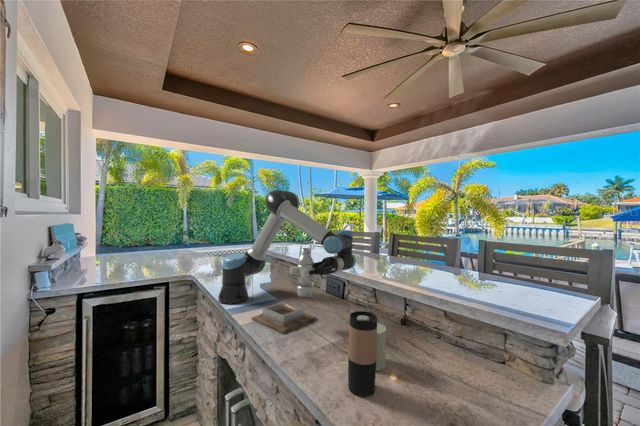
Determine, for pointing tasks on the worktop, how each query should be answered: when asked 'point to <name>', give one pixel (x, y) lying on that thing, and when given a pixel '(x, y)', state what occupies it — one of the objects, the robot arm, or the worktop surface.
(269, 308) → the grey square tray
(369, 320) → the travel mug
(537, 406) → the worktop surface
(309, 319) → the board
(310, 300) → the worktop surface
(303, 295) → the plastic bottle
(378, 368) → the can
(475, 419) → the worktop surface
